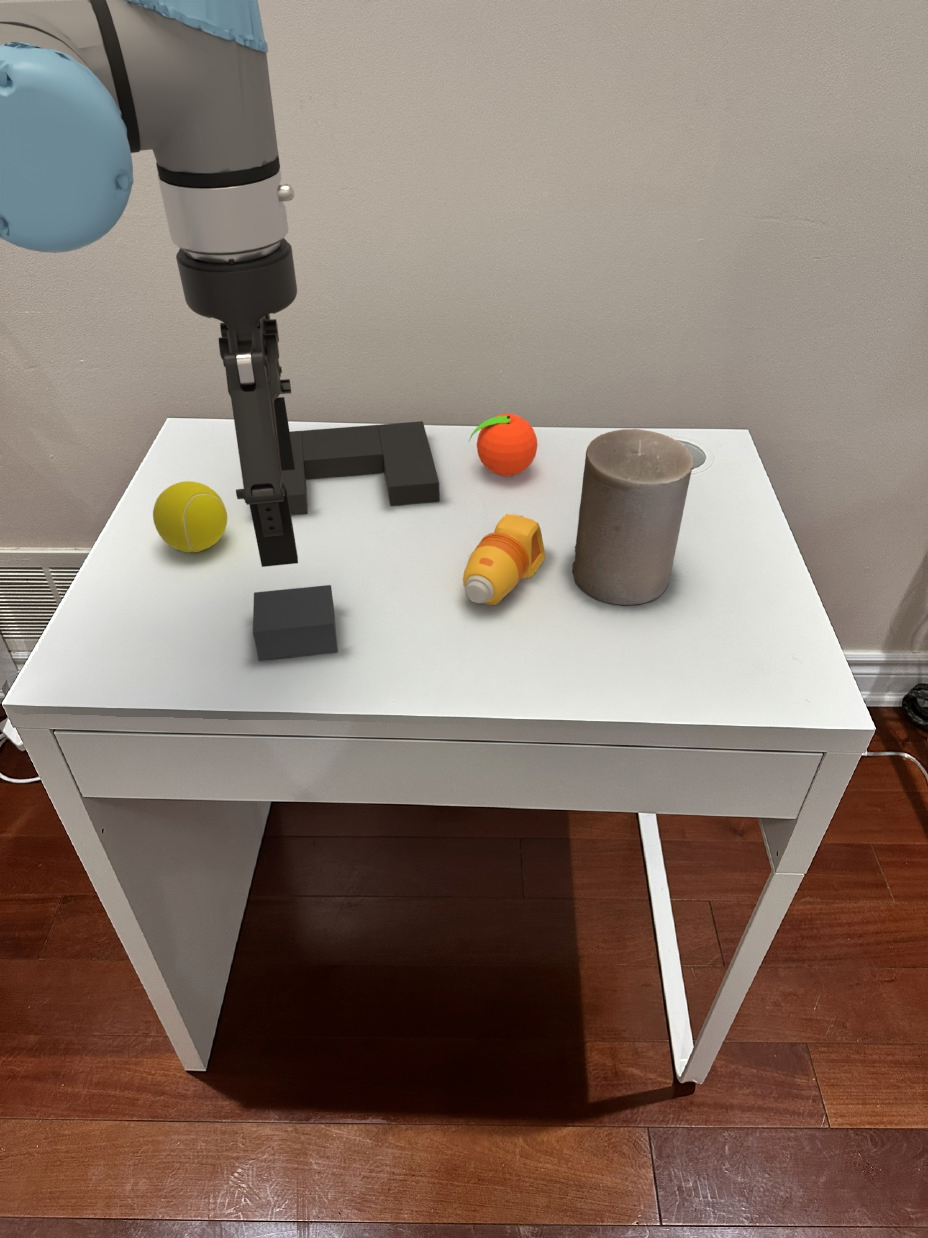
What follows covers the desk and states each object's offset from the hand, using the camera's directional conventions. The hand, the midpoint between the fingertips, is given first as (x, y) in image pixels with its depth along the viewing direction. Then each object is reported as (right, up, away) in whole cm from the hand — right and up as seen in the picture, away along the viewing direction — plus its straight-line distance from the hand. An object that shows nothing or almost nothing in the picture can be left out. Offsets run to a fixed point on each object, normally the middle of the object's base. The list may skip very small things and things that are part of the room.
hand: (279, 512), depth 72 cm
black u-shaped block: (+1, +8, +30) cm, 31 cm away
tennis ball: (-13, -1, +20) cm, 23 cm away
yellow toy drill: (+19, -5, +15) cm, 25 cm away
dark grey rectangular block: (0, -10, +9) cm, 14 cm away
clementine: (+19, +8, +31) cm, 37 cm away
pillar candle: (+31, -5, +16) cm, 35 cm away
